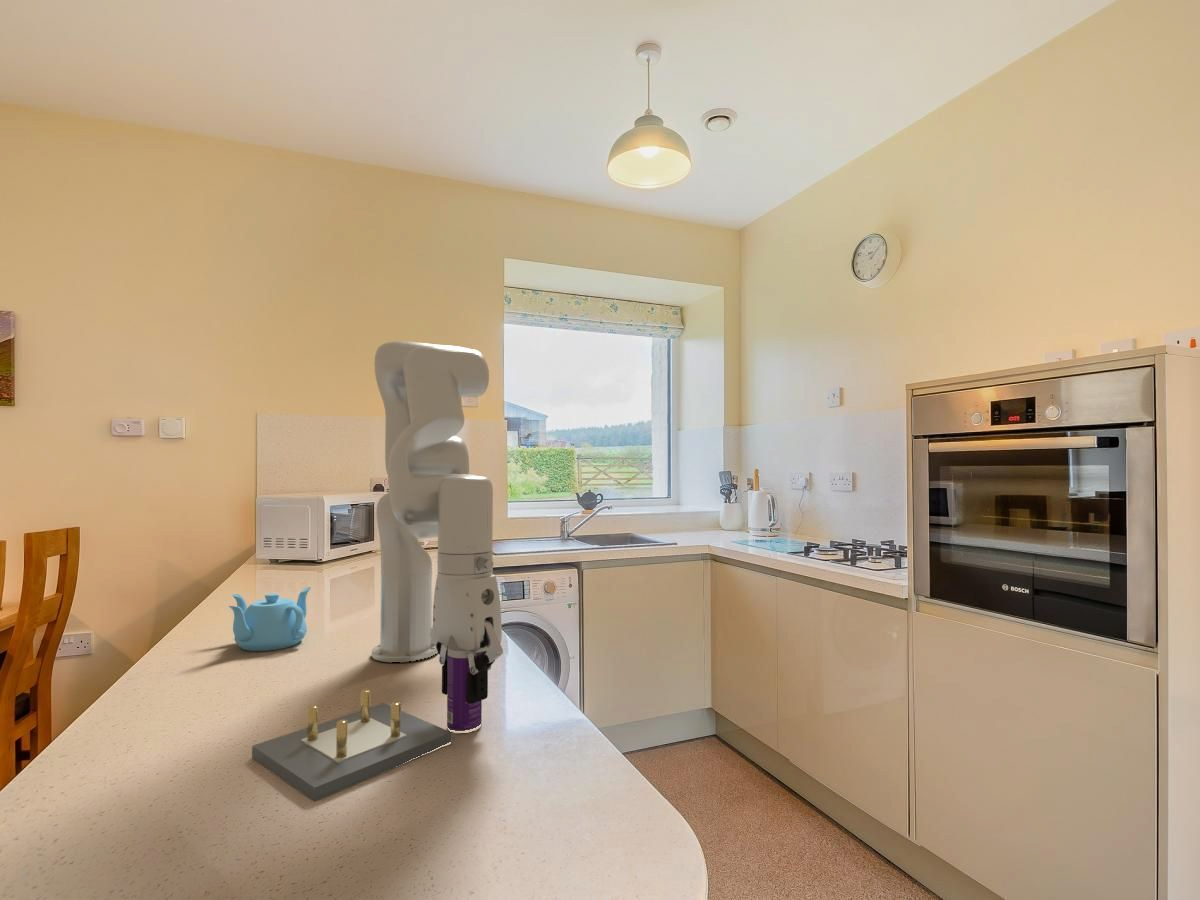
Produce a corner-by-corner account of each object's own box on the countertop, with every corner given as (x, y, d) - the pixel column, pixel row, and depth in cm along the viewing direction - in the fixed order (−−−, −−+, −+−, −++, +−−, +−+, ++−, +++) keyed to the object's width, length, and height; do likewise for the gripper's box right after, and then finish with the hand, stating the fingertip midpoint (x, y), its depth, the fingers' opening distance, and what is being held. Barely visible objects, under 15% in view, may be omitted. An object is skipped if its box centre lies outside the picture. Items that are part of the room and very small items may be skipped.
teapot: (309, 650, 122) (310, 597, 123) (221, 659, 116) (222, 604, 117) (310, 632, 136) (311, 585, 136) (230, 640, 129) (232, 590, 130)
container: (473, 735, 83) (474, 622, 83) (441, 732, 84) (441, 621, 84) (486, 721, 88) (487, 614, 88) (455, 718, 89) (456, 613, 89)
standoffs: (367, 718, 84) (367, 688, 85) (402, 735, 79) (402, 703, 79) (305, 739, 78) (305, 707, 78) (339, 759, 73) (339, 724, 73)
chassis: (383, 713, 90) (383, 701, 91) (451, 744, 80) (451, 730, 80) (251, 757, 77) (252, 744, 77) (314, 801, 66) (314, 785, 66)
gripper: (527, 567, 84) (526, 702, 83) (449, 556, 95) (448, 676, 94) (484, 574, 78) (483, 720, 78) (406, 561, 89) (405, 690, 88)
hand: (464, 694), depth 86 cm, fingers closed on container, 4 cm apart
